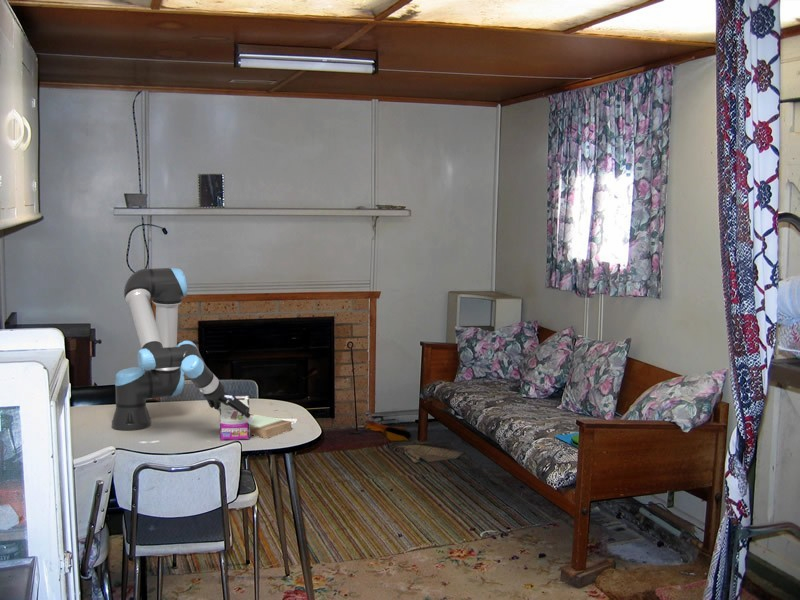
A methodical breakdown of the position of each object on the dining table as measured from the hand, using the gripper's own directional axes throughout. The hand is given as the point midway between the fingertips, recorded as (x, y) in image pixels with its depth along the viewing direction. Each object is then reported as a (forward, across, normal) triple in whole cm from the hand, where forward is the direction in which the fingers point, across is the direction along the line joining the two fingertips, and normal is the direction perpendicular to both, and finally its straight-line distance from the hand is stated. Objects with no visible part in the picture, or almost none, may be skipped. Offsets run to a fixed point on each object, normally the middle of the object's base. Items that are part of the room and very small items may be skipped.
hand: (239, 418), depth 330 cm
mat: (+11, -1, +6) cm, 12 cm away
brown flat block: (+13, -1, +3) cm, 14 cm away
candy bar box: (+3, 0, -7) cm, 8 cm away
